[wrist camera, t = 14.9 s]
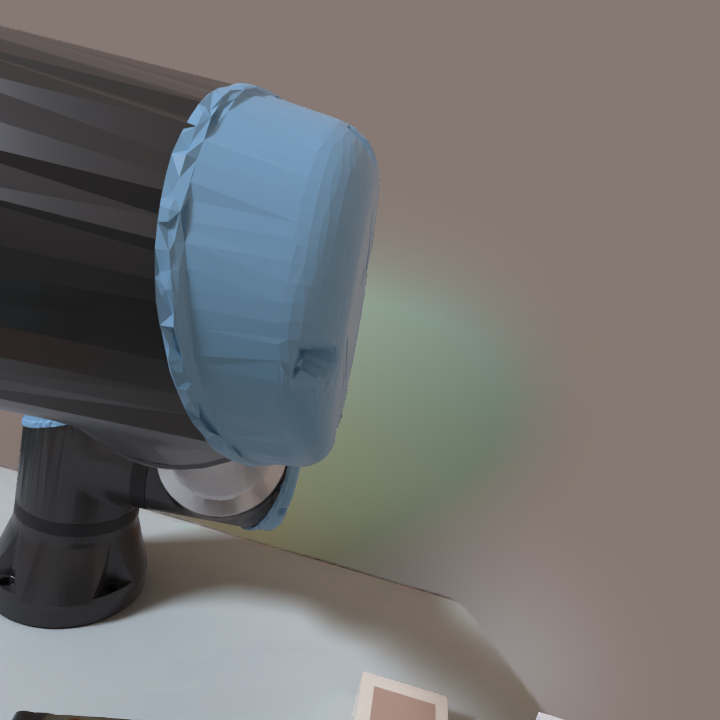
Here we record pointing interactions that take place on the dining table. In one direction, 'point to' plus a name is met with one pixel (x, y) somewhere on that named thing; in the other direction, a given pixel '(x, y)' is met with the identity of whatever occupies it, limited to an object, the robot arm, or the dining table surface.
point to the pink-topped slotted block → (396, 701)
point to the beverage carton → (54, 717)
